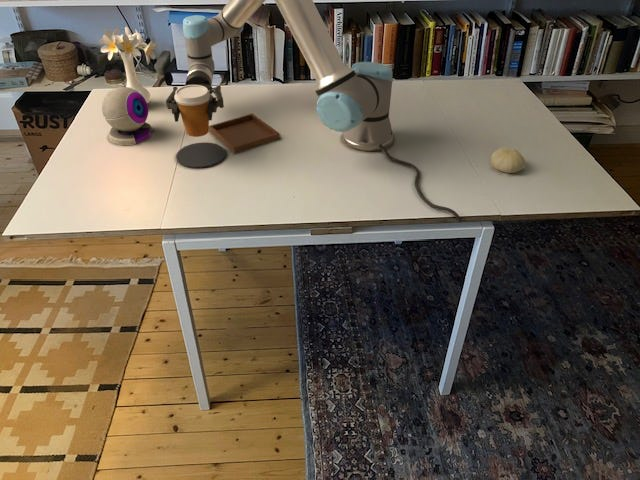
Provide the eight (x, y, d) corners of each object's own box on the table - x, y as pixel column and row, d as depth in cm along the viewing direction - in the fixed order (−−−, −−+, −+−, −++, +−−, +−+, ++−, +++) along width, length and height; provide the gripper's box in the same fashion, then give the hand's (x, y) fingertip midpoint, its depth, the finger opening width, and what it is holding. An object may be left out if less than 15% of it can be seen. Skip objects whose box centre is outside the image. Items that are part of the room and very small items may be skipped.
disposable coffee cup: (221, 129, 154) (216, 89, 147) (198, 143, 148) (192, 101, 140) (196, 120, 158) (190, 81, 150) (173, 134, 152) (165, 93, 144)
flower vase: (161, 115, 178) (146, 38, 162) (106, 113, 179) (86, 36, 163) (172, 99, 188) (160, 24, 172) (120, 96, 189) (103, 22, 173)
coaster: (234, 158, 156) (233, 157, 156) (189, 173, 150) (189, 171, 150) (211, 139, 165) (211, 138, 165) (168, 153, 159) (168, 151, 159)
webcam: (136, 148, 161) (126, 100, 152) (100, 141, 164) (87, 94, 155) (160, 128, 171) (151, 83, 161) (125, 122, 174) (114, 77, 164)
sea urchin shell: (509, 173, 147) (499, 146, 148) (491, 181, 155) (481, 155, 155) (534, 165, 151) (524, 138, 151) (515, 173, 158) (506, 147, 158)
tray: (279, 138, 166) (279, 133, 165) (234, 153, 159) (234, 147, 158) (252, 118, 177) (252, 113, 175) (209, 131, 169) (208, 126, 168)
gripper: (235, 93, 166) (233, 127, 148) (165, 95, 164) (155, 130, 146) (233, 69, 161) (231, 101, 143) (161, 71, 159) (149, 104, 142)
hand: (192, 116), depth 145 cm, fingers closed on disposable coffee cup, 8 cm apart
